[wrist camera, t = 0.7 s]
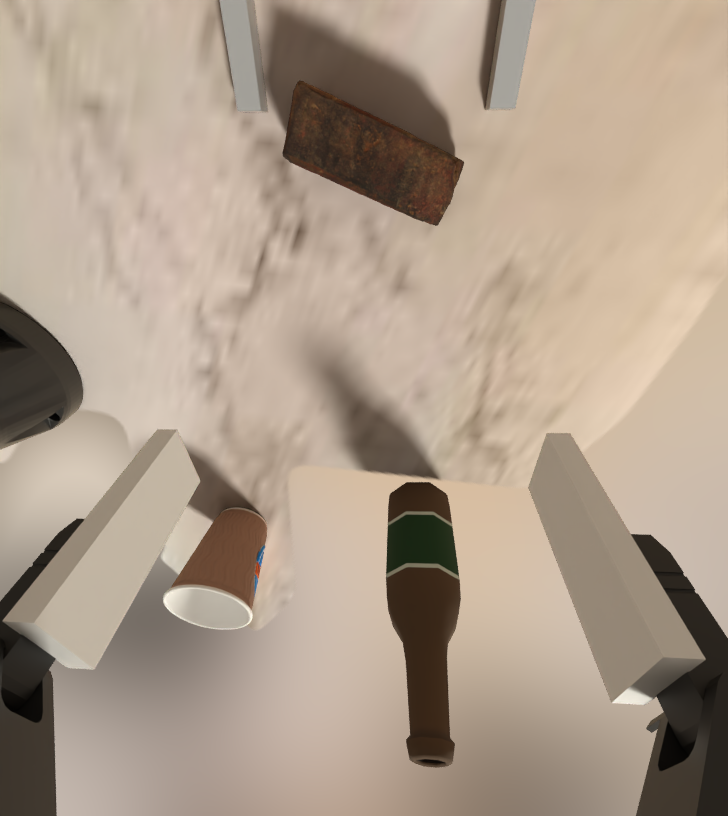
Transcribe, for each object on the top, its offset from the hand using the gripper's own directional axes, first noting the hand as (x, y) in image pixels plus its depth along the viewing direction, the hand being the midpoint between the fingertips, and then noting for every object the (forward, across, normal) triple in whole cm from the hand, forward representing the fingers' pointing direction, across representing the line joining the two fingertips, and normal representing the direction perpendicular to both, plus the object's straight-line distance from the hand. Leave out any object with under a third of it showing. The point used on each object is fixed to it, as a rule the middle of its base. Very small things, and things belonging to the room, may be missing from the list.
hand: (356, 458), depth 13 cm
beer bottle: (+21, +5, -27) cm, 35 cm away
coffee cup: (+21, -20, -33) cm, 44 cm away
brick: (+21, 0, +8) cm, 23 cm away
